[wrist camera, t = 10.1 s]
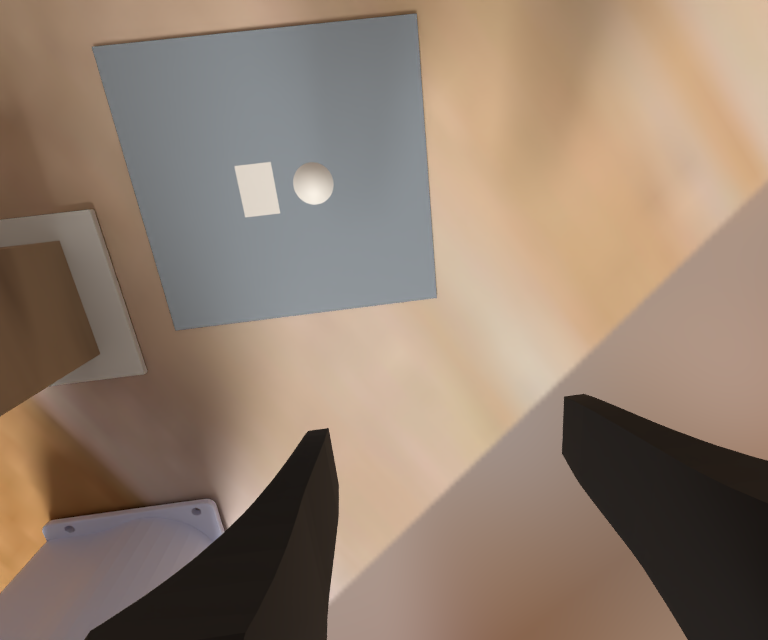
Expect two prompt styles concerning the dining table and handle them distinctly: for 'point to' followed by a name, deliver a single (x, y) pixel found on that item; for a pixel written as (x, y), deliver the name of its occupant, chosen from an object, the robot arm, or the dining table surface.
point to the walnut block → (39, 322)
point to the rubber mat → (86, 289)
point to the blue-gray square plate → (278, 167)
